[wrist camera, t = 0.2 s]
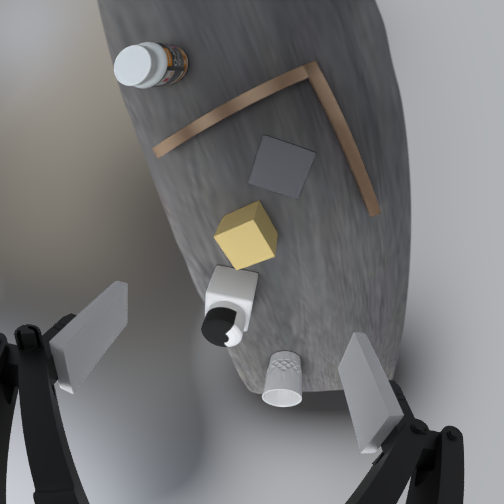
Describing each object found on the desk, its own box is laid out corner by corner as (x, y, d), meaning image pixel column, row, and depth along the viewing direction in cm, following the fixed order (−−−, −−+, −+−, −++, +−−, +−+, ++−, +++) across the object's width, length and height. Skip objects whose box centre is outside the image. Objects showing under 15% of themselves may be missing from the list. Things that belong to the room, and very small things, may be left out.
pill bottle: (198, 60, 31) (167, 57, 23) (171, 92, 34) (135, 100, 26) (167, 38, 29) (129, 31, 21) (142, 70, 32) (101, 74, 24)
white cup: (298, 371, 63) (296, 408, 55) (264, 366, 63) (259, 403, 55) (307, 351, 59) (306, 392, 50) (270, 346, 59) (265, 386, 51)
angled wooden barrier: (312, 62, 30) (315, 60, 25) (372, 197, 38) (381, 213, 34) (167, 139, 38) (151, 148, 34) (237, 249, 46) (231, 268, 42)
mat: (298, 118, 34) (298, 118, 34) (331, 185, 38) (331, 186, 38) (229, 151, 38) (229, 151, 38) (265, 212, 42) (265, 213, 42)
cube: (259, 200, 41) (253, 219, 36) (278, 233, 44) (274, 256, 39) (223, 215, 44) (213, 236, 39) (243, 247, 46) (236, 270, 41)
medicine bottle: (214, 294, 53) (196, 346, 43) (216, 263, 49) (196, 315, 39) (253, 302, 52) (242, 356, 43) (259, 272, 48) (248, 326, 39)
